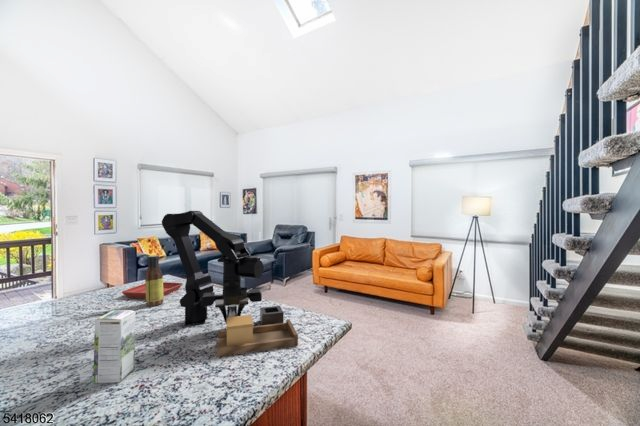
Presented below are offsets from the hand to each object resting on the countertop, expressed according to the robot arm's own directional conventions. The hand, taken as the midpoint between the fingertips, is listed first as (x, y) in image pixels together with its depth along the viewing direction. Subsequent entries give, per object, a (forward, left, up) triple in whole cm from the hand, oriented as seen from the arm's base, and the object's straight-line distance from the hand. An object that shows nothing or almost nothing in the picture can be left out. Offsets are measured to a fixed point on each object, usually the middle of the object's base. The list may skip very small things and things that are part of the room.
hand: (231, 323), depth 92 cm
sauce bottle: (-30, +33, -2) cm, 45 cm away
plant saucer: (-34, +50, -2) cm, 61 cm away
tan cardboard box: (+2, -12, -2) cm, 12 cm away
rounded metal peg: (0, 0, -2) cm, 2 cm away
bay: (+7, -12, -2) cm, 14 cm away
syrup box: (-26, -20, -2) cm, 33 cm away
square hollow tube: (+13, 0, -2) cm, 13 cm away
